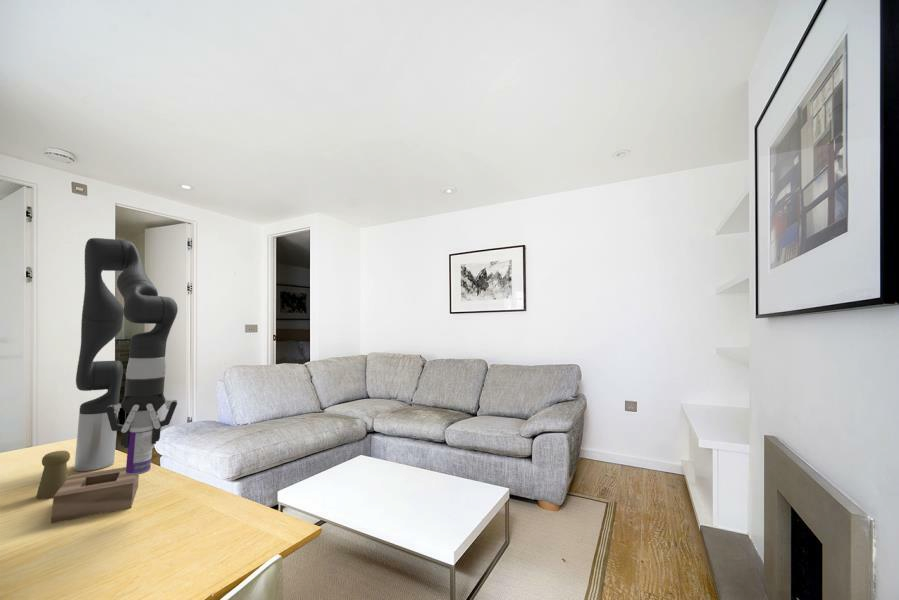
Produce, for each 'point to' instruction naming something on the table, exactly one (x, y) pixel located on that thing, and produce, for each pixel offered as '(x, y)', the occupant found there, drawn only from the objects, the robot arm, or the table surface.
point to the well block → (94, 494)
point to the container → (140, 444)
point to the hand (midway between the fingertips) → (140, 444)
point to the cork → (53, 474)
